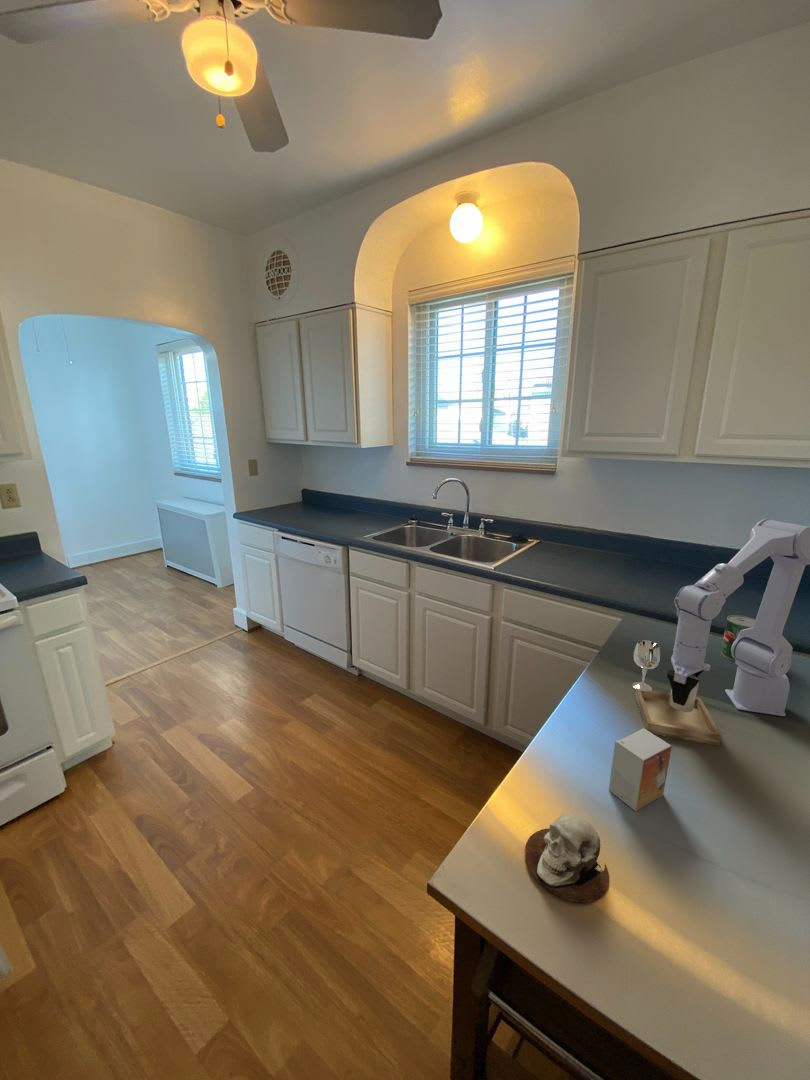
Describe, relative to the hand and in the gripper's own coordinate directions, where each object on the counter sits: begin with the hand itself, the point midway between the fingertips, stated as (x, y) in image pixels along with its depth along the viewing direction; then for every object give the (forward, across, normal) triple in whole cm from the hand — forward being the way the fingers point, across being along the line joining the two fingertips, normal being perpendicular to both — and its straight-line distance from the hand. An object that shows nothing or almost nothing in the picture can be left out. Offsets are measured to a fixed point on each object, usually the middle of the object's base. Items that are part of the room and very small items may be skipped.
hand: (681, 698), depth 97 cm
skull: (+7, -49, +5) cm, 49 cm away
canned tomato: (+6, +45, -6) cm, 46 cm away
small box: (+6, -27, +1) cm, 28 cm away
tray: (+6, +1, +1) cm, 6 cm away
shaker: (+2, 0, 0) cm, 2 cm away
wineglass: (+6, +10, +10) cm, 15 cm away
